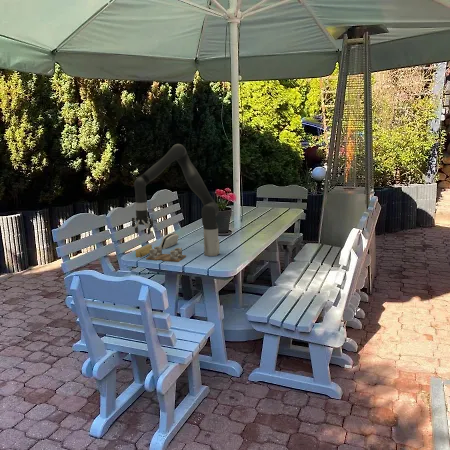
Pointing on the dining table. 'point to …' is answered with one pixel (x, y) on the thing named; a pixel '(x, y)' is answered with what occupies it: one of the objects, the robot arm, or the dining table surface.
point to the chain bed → (166, 255)
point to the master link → (143, 250)
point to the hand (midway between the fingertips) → (142, 233)
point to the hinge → (169, 240)
